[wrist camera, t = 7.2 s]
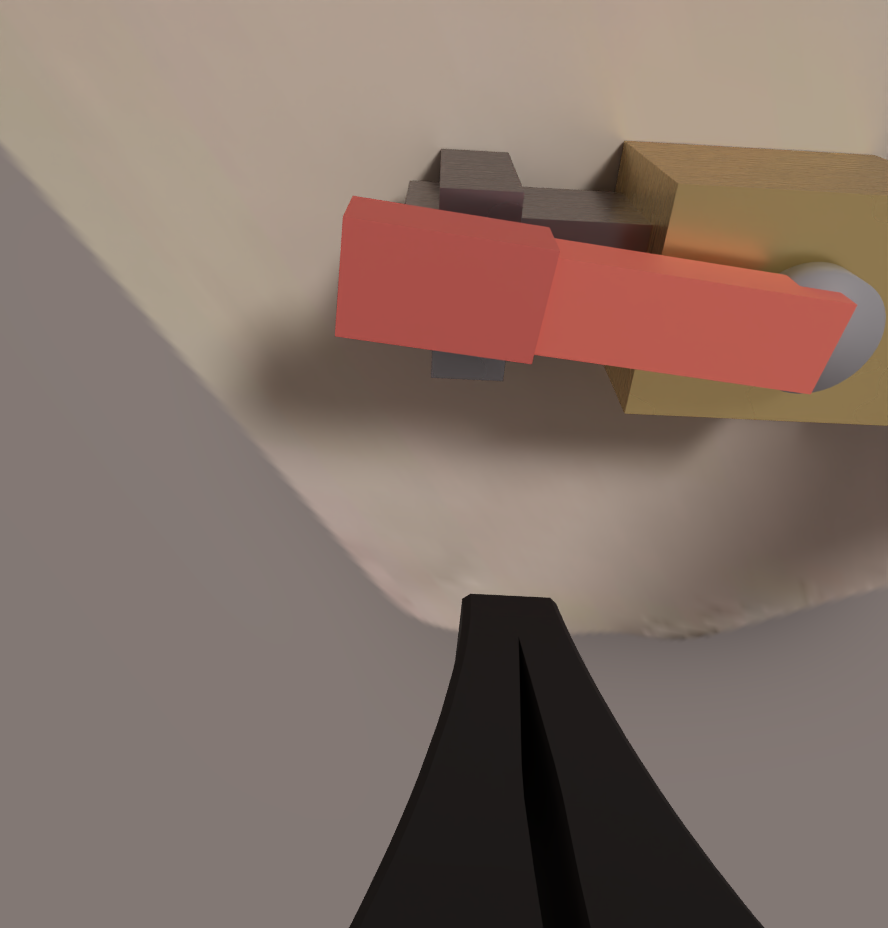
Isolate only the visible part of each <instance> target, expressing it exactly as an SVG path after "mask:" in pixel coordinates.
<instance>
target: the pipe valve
mask: <svg viewBox="0 0 888 928" xmlns="http://www.w3.org/2000/svg"><path fill="white" fill-rule="evenodd" d="M405 204H407V205H413V206H420V207H426V208H432V209H438V210H444V211H451V212H457V213H463V214H469V215H476V216H482V217H488V218H494V219H501V220H507V221H513V222H519V223H526V224H532V225H538V226H544V227H550V229H551V232H552V234H553V236H554V238H557V239H563V240H569V241H576V242H582V243H588V244H594V245H601V246H607V247H613V248H620V249H626V250H632V251H638V252H645V253H651V254H657V255H664V256H670V257H676V258H682V259H689V260H695V261H701V262H708V263H714V264H720V265H726V266H733V267H739V268H745V269H752V270H758V271H764V272H770V273H777V274H779V273H780V272H782V271H784V270H786V269H788V268H791V267H793V266H796V265H800V264H803V263H809V262H829V263H833V264H837V265H839V266H842V267H844V268H845V269H847V270H848V271H850V272H851V273H853V274H854V275H856V276H857V277H859V278H860V279H862V280H863V281H865V282H866V283H868V284H869V285H871V286H872V287H873V288H874V289H875V290H876V291H877V293H878V294H879V295H880V297H881V299H882V301H883V304H884V307H885V313H886V321H885V328H884V332H883V335H882V338H881V341H880V343H879V345H878V347H877V348H876V350H875V351H874V353H873V355H872V356H871V357H870V358H869V360H868V361H867V362H866V363H865V364H864V365H863V366H862V367H861V368H860V369H859V370H858V371H857V372H855V373H854V374H853V375H852V376H850V377H849V378H847V379H846V380H844V381H842V382H841V383H839V384H837V385H835V386H832V387H830V388H827V389H825V390H821V391H817V392H813V393H811V394H795V393H788V392H783V391H780V390H776V389H769V388H762V387H755V386H748V385H741V384H734V383H727V382H720V381H713V380H706V379H700V378H693V377H686V376H679V375H672V374H665V373H658V372H651V371H644V370H637V369H630V368H623V367H616V366H609V365H604V367H605V369H606V372H607V374H608V376H609V378H610V381H611V383H612V385H613V388H614V390H615V392H616V395H617V397H618V399H619V402H620V404H621V406H622V409H623V411H624V413H625V414H646V415H668V416H689V417H710V418H732V419H753V420H775V421H796V422H818V423H839V424H860V425H882V426H888V160H886V159H883V158H881V157H878V156H875V155H862V154H844V153H827V152H810V151H792V150H775V149H758V148H740V147H723V146H706V145H688V144H671V143H654V142H636V141H624V145H623V151H622V156H621V162H620V167H619V172H618V178H617V183H616V189H615V192H607V191H589V190H571V189H553V188H535V187H522V185H521V182H520V180H519V178H518V175H517V173H516V170H515V168H514V165H513V163H512V160H511V158H510V155H509V153H505V152H488V151H470V150H452V149H441V164H440V182H427V181H410V182H409V187H408V192H407V197H406V202H405ZM504 368H505V360H498V359H491V358H484V357H477V356H470V355H463V354H456V353H449V352H442V351H435V350H432V370H431V378H451V379H472V380H493V381H503V377H504Z"/></svg>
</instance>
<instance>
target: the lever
mask: <svg viewBox="0 0 888 928" xmlns="http://www.w3.org/2000/svg"><path fill="white" fill-rule="evenodd" d="M885 321H886V313H885V307H884V304H883V301H882V299H881V297H880V295H879V294H878V293H877V291H876V290H875V289H874V288H873V287H872V286H871V285H869V284H868V283H866V282H865V281H863V280H862V279H860V278H859V277H857V276H856V275H854V274H853V273H851V272H850V271H848V270H847V269H845V268H844V267H842V266H839V265H837V264H833V263H829V262H809V263H803V264H800V265H796V266H793V267H791V268H788V269H786V270H784V271H782V272H780V273H779V274H777V273H770V272H764V271H758V270H752V269H745V268H739V267H733V266H726V265H720V264H714V263H708V262H701V261H695V260H689V259H682V258H676V257H670V256H664V255H657V254H651V253H645V252H638V251H632V250H626V249H620V248H613V247H607V246H601V245H594V244H588V243H582V242H576V241H569V240H563V239H557V238H554V236H553V234H552V232H551V229H550V227H544V226H538V225H532V224H526V223H519V222H513V221H507V220H501V219H494V218H488V217H482V216H476V215H469V214H463V213H457V212H451V211H444V210H438V209H432V208H426V207H420V206H413V205H407V204H401V203H395V202H388V201H382V200H376V199H370V198H363V197H357V196H353V197H352V199H351V201H350V203H349V205H348V207H347V209H346V211H345V213H344V216H343V224H342V239H341V254H340V269H339V283H338V298H337V313H336V328H335V336H337V337H344V338H351V339H358V340H365V341H372V342H379V343H386V344H393V345H400V346H407V347H414V348H421V349H428V350H435V351H442V352H449V353H456V354H463V355H470V356H477V357H484V358H491V359H498V360H505V361H512V362H519V363H526V364H532V361H533V357H534V355H540V356H547V357H554V358H560V359H567V360H574V361H581V362H588V363H595V364H602V365H609V366H616V367H623V368H630V369H637V370H644V371H651V372H658V373H665V374H672V375H679V376H686V377H693V378H700V379H706V380H713V381H720V382H727V383H734V384H741V385H748V386H755V387H762V388H769V389H776V390H780V391H783V392H788V393H795V394H811V393H813V392H817V391H821V390H825V389H827V388H830V387H832V386H835V385H837V384H839V383H841V382H842V381H844V380H846V379H847V378H849V377H850V376H852V375H853V374H854V373H855V372H857V371H858V370H859V369H860V368H861V367H862V366H863V365H864V364H865V363H866V362H867V361H868V360H869V358H870V357H871V356H872V355H873V353H874V351H875V350H876V348H877V347H878V345H879V343H880V341H881V338H882V335H883V332H884V328H885Z"/></svg>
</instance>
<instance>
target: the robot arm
mask: <svg viewBox="0 0 888 928" xmlns="http://www.w3.org/2000/svg"><path fill="white" fill-rule="evenodd" d="M349 928H764V927H763V926H762V925H761V923H760V922H759V921H758V920H757V919H756V917H754V915H753V914H752V913H751V911H750V910H749V909H748V908H747V906H746V905H745V904H744V903H743V901H742V900H741V899H740V898H739V897H738V895H737V894H736V893H735V891H734V890H733V889H732V887H731V886H730V885H729V884H728V882H727V881H726V880H725V878H724V877H723V876H722V875H721V874H720V872H719V871H718V870H717V869H716V867H715V866H714V865H713V863H712V862H711V860H710V859H709V858H708V856H707V855H706V854H705V852H704V851H703V850H702V848H701V847H700V846H699V844H698V843H697V842H696V840H695V839H694V838H693V836H692V835H691V834H690V832H689V831H688V830H687V828H686V827H685V825H684V824H683V822H682V821H681V820H680V818H679V817H678V815H677V814H676V813H675V811H674V810H673V808H672V807H671V805H670V804H669V802H668V801H667V800H666V798H665V797H664V795H663V794H662V792H661V791H660V789H659V788H658V786H657V785H656V783H655V782H654V780H653V779H652V777H651V776H650V774H649V772H648V771H647V769H646V768H645V766H644V765H643V763H642V762H641V760H640V759H639V757H638V756H637V754H636V752H635V751H634V749H633V748H632V746H631V744H630V743H629V741H628V739H627V738H626V736H625V735H624V733H623V731H622V729H621V728H620V726H619V724H618V723H617V721H616V720H615V718H614V716H613V714H612V712H611V711H610V709H609V707H608V706H607V704H606V702H605V701H604V699H603V697H602V695H601V694H600V692H599V690H598V688H597V686H596V684H595V683H594V681H593V679H592V677H591V675H590V673H589V672H588V670H587V668H586V666H585V664H584V662H583V660H582V658H581V656H580V654H579V652H578V650H577V648H576V646H575V644H574V642H573V640H572V638H571V636H570V634H569V632H568V630H567V627H566V625H565V623H564V621H563V619H562V616H561V614H560V612H559V609H558V607H557V605H556V603H555V602H554V601H553V600H552V599H551V598H543V597H523V596H503V595H484V594H469V595H468V596H466V597H465V598H463V599H462V606H461V615H460V624H459V633H458V642H457V651H456V660H455V664H454V669H453V673H452V676H451V680H450V683H449V687H448V690H447V694H446V697H445V701H444V704H443V707H442V711H441V715H440V717H439V721H438V723H437V726H436V729H435V732H434V735H433V737H432V740H431V743H430V746H429V748H428V751H427V754H426V757H425V759H424V762H423V765H422V768H421V770H420V773H419V776H418V779H417V781H416V784H415V786H414V789H413V791H412V793H411V796H410V798H409V801H408V803H407V805H406V808H405V810H404V812H403V815H402V817H401V820H400V822H399V824H398V826H397V829H396V831H395V833H394V835H393V838H392V840H391V842H390V845H389V847H388V849H387V851H386V853H385V855H384V857H383V859H382V862H381V864H380V866H379V868H378V870H377V872H376V874H375V876H374V878H373V880H372V882H371V885H370V887H369V889H368V891H367V893H366V895H365V897H364V899H363V901H362V903H361V905H360V907H359V909H358V911H357V913H356V915H355V917H354V919H353V921H352V923H351V925H350V927H349Z"/></svg>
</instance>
